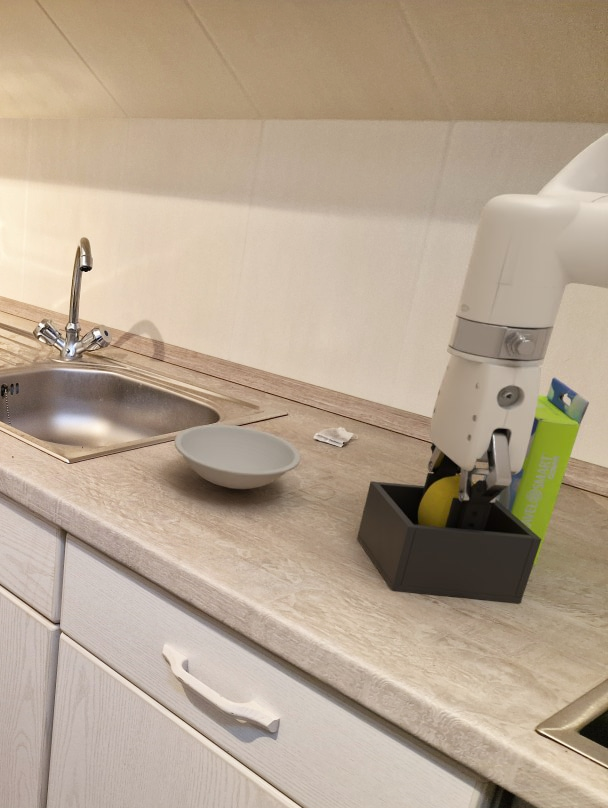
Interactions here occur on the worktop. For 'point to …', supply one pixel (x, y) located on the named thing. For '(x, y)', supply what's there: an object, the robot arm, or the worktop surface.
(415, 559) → the basket
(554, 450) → the box
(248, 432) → the dish
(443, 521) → the lemon
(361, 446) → the worktop surface
